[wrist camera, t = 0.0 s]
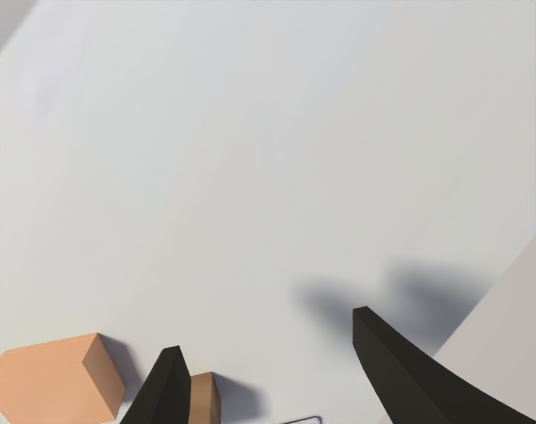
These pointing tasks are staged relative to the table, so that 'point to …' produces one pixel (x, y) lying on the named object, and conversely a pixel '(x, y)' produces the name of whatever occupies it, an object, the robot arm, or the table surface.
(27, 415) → the terracotta block
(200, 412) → the walnut block
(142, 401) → the robot arm
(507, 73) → the table surface
